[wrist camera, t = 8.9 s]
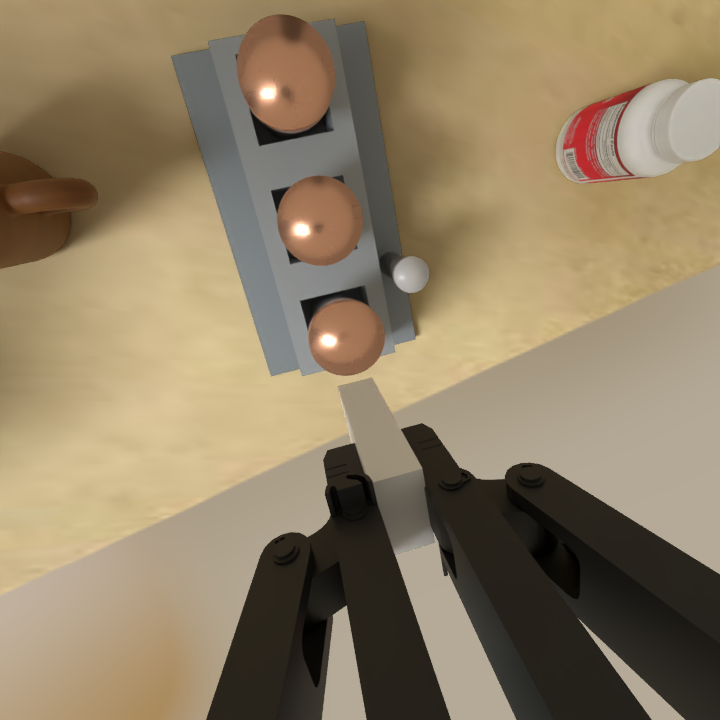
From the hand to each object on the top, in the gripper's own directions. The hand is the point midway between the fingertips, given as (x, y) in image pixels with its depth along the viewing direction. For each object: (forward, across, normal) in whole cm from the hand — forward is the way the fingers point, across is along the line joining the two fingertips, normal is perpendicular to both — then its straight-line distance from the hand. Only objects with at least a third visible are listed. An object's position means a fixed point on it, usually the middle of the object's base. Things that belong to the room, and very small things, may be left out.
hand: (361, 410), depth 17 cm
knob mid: (+20, +1, +7) cm, 21 cm away
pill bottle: (+21, +26, +8) cm, 35 cm away
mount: (+21, +1, +7) cm, 22 cm away
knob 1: (+20, +1, +15) cm, 25 cm away
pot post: (+20, +7, +2) cm, 22 cm away
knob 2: (+20, +1, -1) cm, 20 cm away
